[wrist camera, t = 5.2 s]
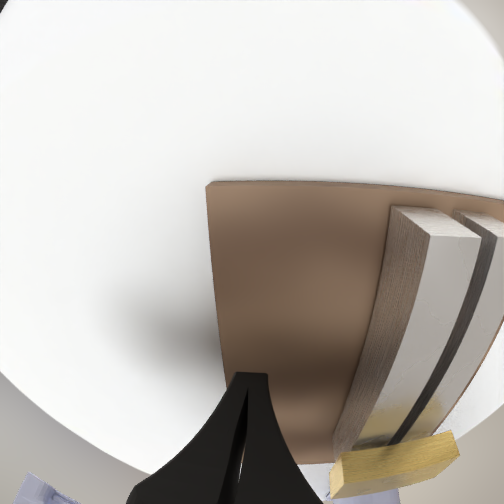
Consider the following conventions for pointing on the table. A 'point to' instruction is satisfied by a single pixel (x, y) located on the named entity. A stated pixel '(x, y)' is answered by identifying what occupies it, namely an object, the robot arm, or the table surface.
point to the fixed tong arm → (463, 331)
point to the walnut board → (306, 289)
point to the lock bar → (391, 466)
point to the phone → (2, 4)
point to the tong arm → (407, 323)
